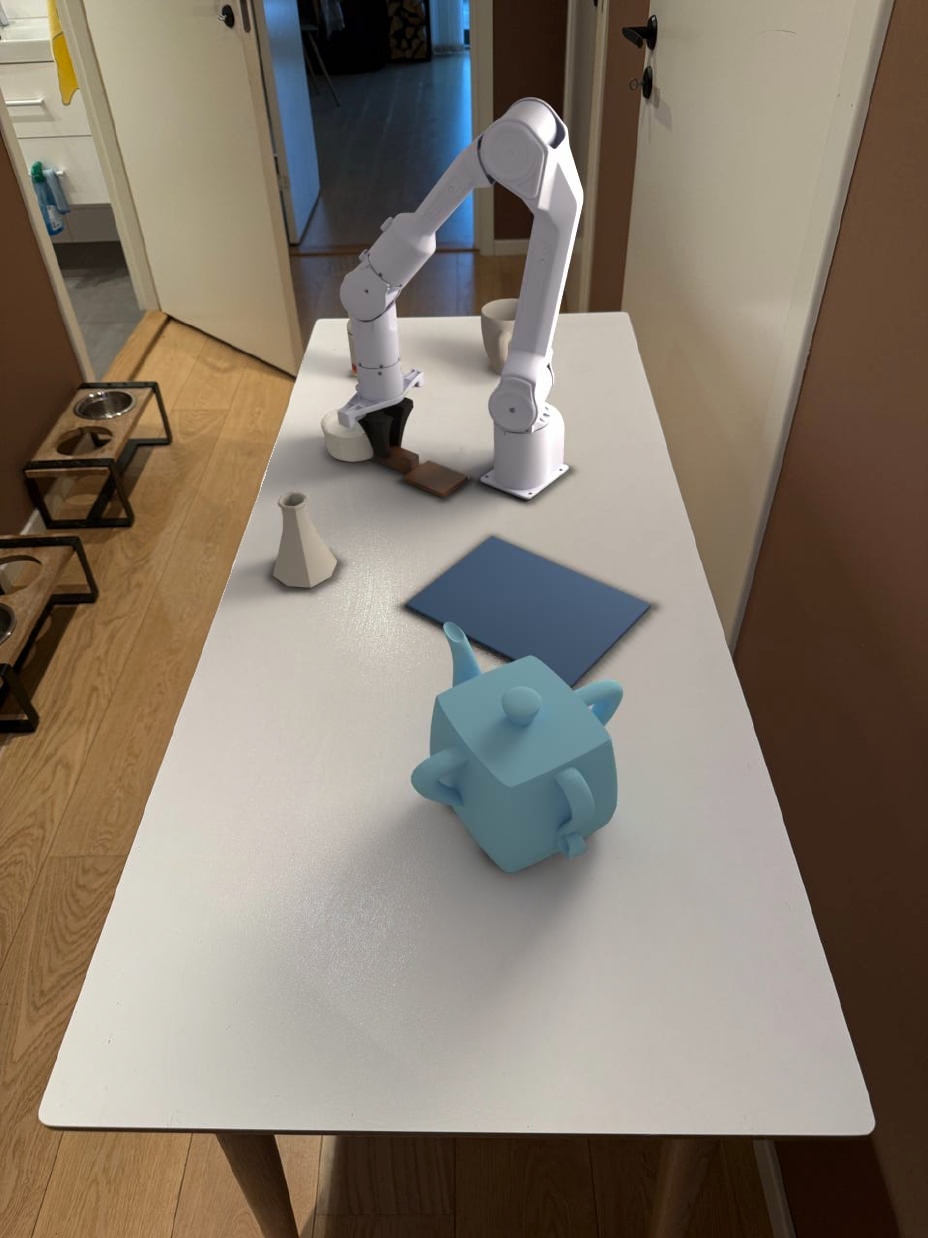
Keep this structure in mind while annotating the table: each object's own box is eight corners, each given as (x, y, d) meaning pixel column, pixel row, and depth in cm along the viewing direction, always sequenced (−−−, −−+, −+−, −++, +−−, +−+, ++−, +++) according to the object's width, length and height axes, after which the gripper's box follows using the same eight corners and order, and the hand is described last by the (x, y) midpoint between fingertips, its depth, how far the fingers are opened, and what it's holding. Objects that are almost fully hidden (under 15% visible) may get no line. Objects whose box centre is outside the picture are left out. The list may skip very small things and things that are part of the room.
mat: (492, 538, 113) (492, 535, 112) (650, 606, 102) (651, 604, 102) (405, 606, 103) (405, 603, 103) (569, 689, 93) (570, 686, 92)
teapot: (635, 763, 85) (649, 655, 76) (587, 911, 74) (597, 805, 65) (452, 715, 91) (445, 610, 82) (381, 846, 79) (364, 740, 70)
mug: (487, 354, 151) (485, 296, 145) (540, 357, 150) (541, 299, 144) (474, 388, 143) (472, 328, 136) (530, 391, 141) (531, 331, 135)
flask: (262, 579, 108) (246, 508, 102) (298, 546, 113) (285, 475, 106) (313, 596, 105) (300, 524, 99) (348, 561, 110) (337, 490, 104)
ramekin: (390, 431, 133) (387, 404, 130) (385, 464, 126) (382, 436, 123) (329, 433, 133) (325, 405, 131) (320, 465, 127) (316, 437, 124)
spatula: (349, 458, 128) (347, 443, 127) (374, 443, 131) (373, 427, 130) (443, 498, 120) (442, 482, 118) (468, 480, 123) (467, 464, 121)
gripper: (392, 331, 124) (401, 422, 132) (315, 372, 115) (329, 466, 124) (433, 344, 120) (438, 436, 129) (355, 387, 112) (367, 482, 121)
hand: (387, 452), depth 126 cm, fingers closed on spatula, 2 cm apart
